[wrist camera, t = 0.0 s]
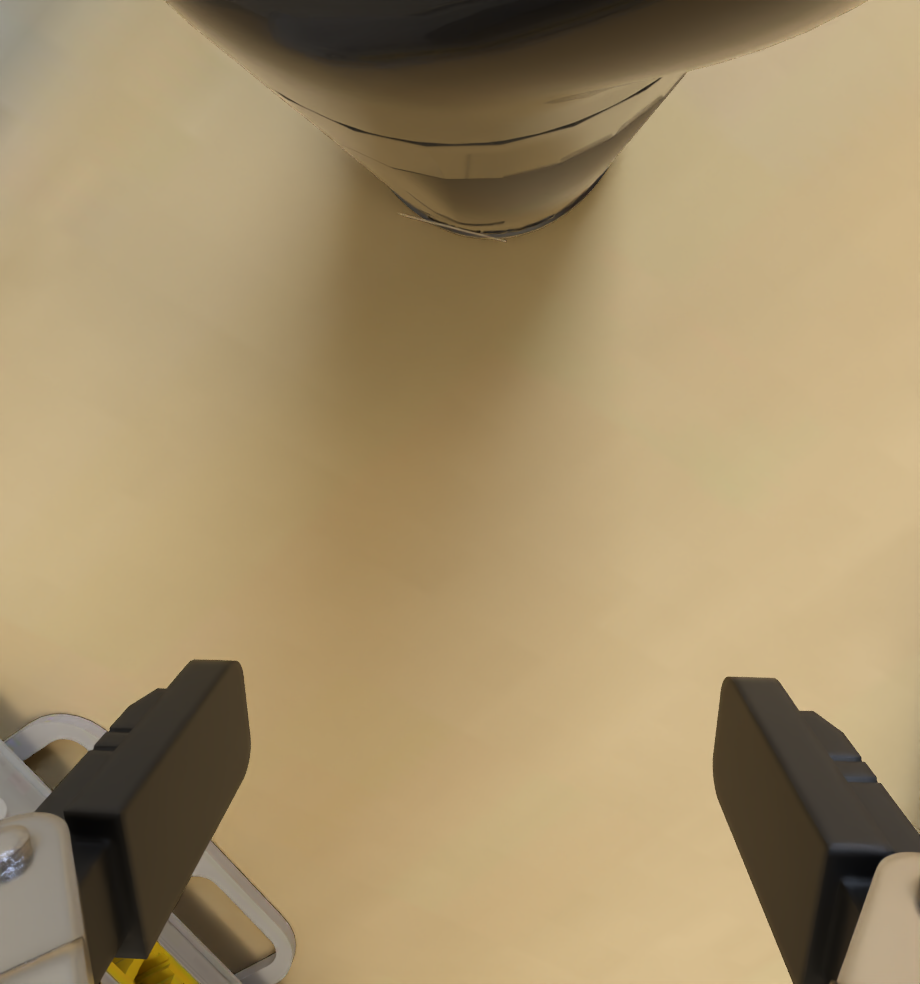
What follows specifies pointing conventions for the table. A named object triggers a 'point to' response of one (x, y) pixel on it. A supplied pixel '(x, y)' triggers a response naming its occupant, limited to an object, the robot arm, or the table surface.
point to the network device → (178, 952)
